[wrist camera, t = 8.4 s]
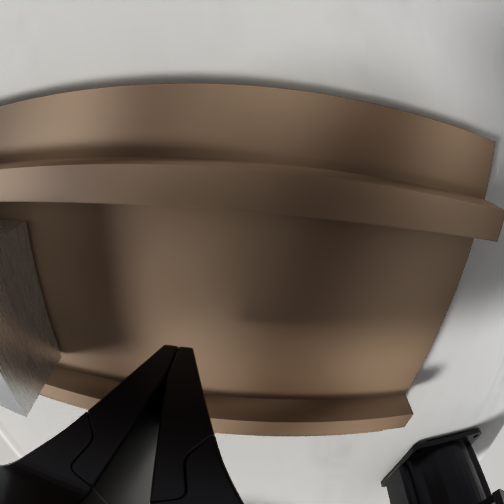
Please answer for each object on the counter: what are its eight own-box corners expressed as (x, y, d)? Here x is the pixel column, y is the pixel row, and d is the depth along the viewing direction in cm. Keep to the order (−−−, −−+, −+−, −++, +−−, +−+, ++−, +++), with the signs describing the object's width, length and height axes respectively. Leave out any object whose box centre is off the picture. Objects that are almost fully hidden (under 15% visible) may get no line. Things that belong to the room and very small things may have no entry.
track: (478, 137, 8) (547, 157, 5) (378, 416, 14) (393, 469, 11) (-68, 129, 8) (-119, 146, 5) (-9, 362, 14) (-35, 398, 10)
